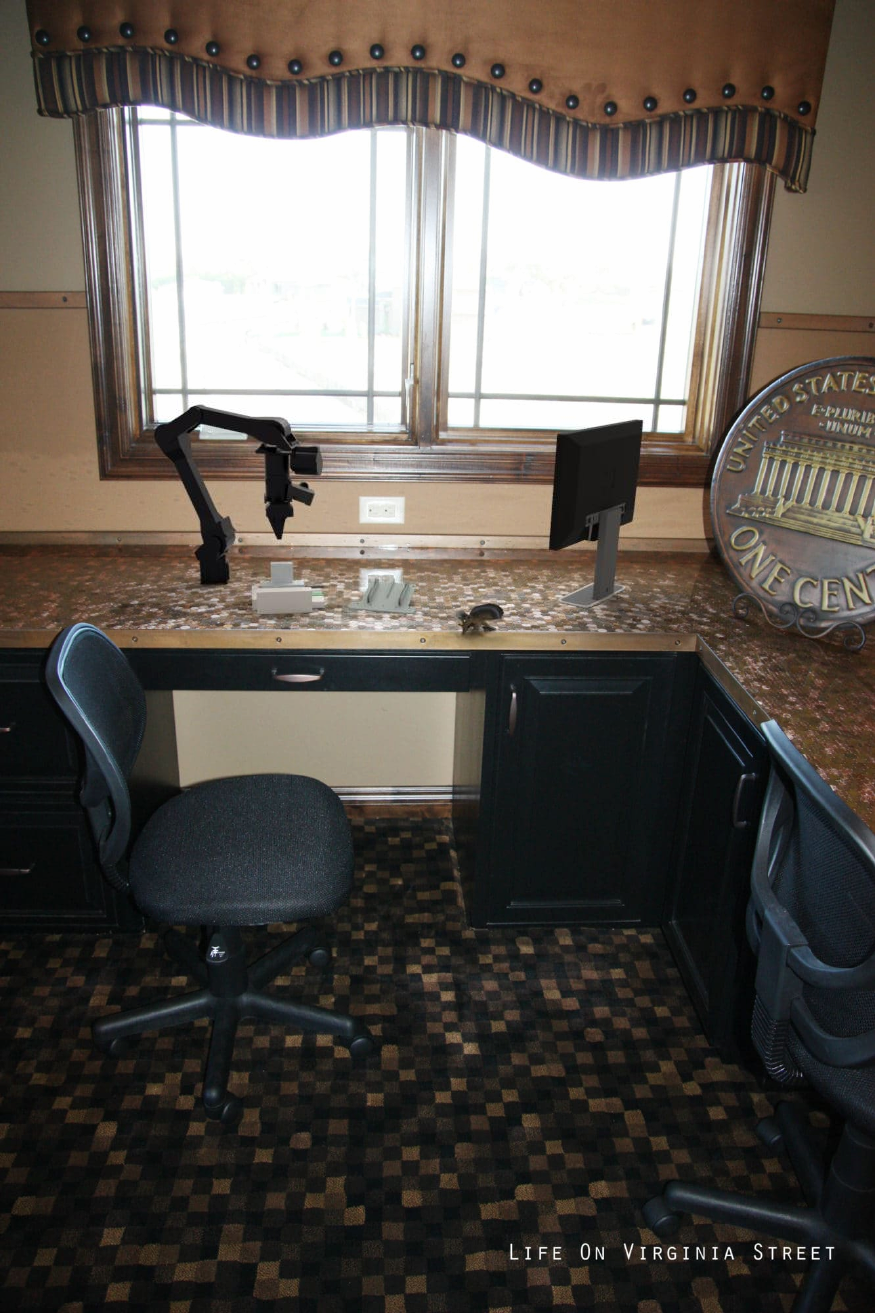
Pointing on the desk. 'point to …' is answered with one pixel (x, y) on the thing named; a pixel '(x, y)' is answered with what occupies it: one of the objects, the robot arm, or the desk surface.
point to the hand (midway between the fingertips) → (279, 539)
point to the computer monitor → (595, 498)
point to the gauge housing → (286, 600)
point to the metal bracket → (387, 598)
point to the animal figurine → (479, 617)
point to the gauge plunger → (284, 577)
